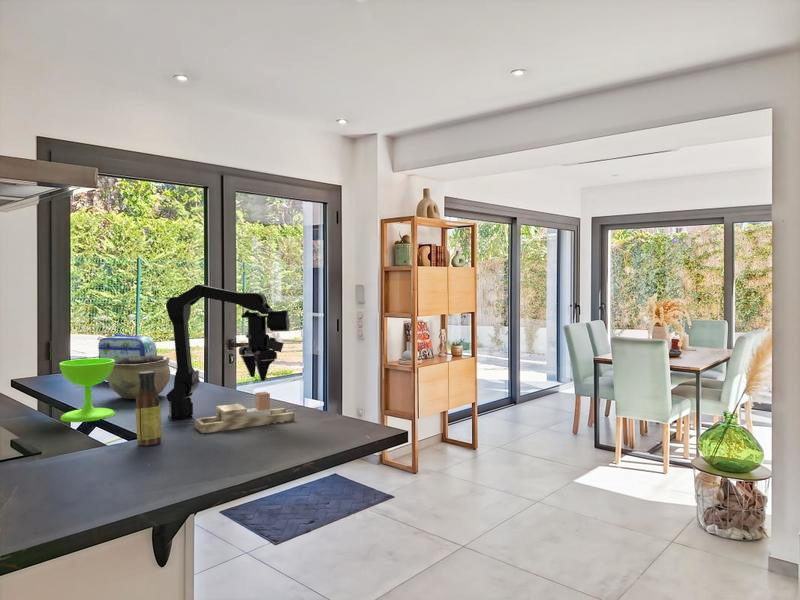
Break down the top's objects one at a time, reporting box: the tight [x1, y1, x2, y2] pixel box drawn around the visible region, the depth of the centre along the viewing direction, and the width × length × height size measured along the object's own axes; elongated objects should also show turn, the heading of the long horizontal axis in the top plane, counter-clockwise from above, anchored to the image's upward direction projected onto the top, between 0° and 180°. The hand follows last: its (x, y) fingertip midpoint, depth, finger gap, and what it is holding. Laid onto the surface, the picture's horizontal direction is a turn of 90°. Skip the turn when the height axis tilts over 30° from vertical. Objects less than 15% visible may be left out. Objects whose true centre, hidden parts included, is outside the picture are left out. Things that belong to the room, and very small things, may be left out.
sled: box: [221, 391, 271, 421], centre depth 180 cm, size 14×4×8 cm, turn 123°
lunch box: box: [97, 333, 158, 381], centre depth 249 cm, size 26×11×21 cm, turn 69°
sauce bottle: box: [135, 371, 163, 447], centre depth 157 cm, size 7×6×20 cm
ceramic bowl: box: [107, 354, 171, 400], centre depth 217 cm, size 22×22×15 cm
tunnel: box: [194, 403, 295, 434], centre depth 180 cm, size 29×8×6 cm, turn 123°
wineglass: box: [58, 357, 116, 423], centre depth 188 cm, size 16×16×18 cm
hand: (257, 378), depth 187 cm, fingers open, 9 cm apart
